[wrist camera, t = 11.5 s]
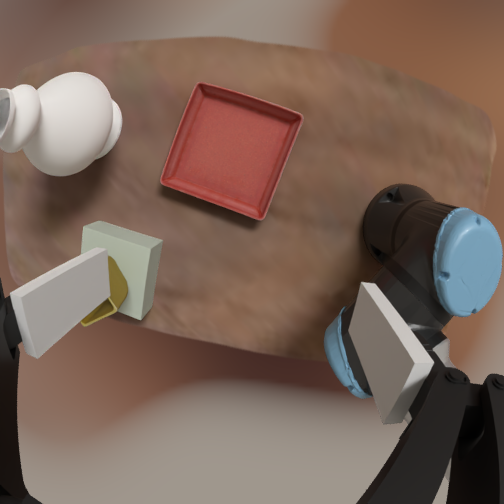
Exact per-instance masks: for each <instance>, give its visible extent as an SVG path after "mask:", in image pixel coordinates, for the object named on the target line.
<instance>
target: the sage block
mask: <svg viewBox="0 0 504 504" xmlns="http://www.w3.org/2000/svg"><path fill="white" fill-rule="evenodd" d="M162 243H163V240H160V239H157V238H154V237H151V236H147V235H144V234H141V233H138V232H135V231H131V230H128V229H125V228H122V227H119V226H115V225H112V224H109V223H106V222H103V221H97V222H94V223H91V224H89V225H86V226H83V236H82V249H81V255H82V254H84V253H86V252H88V251H90V250H92V249H94V248H96V247H98V248H105V249H107V251H108V255H109V256H111V257H112V258H113V259H114V260H115V261H116V263H117V265H118V267H119V269H120V271H121V272H122V274H123V276H124V277H125V279H126V281H127V284H128V294H127V297H126V299H125V300H124V302H123V303H122V305H121V306H120V308H119V309H118V312H121V313H123V314H126V315H128V316H131V317H133V318H136V319H138V320H142V319H143V317H144V316H145V315H146V314H147V312H148V311H149V310H150V309H151V308H152V304H153V297H154V290H155V284H156V277H157V271H158V265H159V260H160V254H161V249H162Z"/></svg>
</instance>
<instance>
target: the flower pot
mask: <svg viewBox="0 0 504 504" xmlns="http://www.w3.org/2000/svg"><path fill="white" fill-rule="evenodd" d="M108 271H109V285H110V297H108V298H107V299H106V300H105V301H103V302H102V303H101V304H100V305H99V306H97V307H96V308H95V309H94V310H93V311H92V312H90V313H89V314H88V315H87V316H86V317H84V318H83V319H82V320H81V321H80V322H81V324H82V325H83V326H84V327H86V326H88V325H90V324H92V323H94V322H96V321H98V320H101V319H103V318H105V317H107V316H109V315H111V314H114V313H115V312H117V311H118V309H119V308H120V306H121V305H122V303H123V302H124V300H125V299H126V297H127V294H128V284H127V281H126V279H125V277H124V276H123V274H122V272H121V271H120V269H119V267H118V265H117V263H116V261H115V260H114V259H113V258H112V257H111V256H109V255H108Z"/></svg>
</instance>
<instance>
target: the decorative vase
mask: <svg viewBox="0 0 504 504" xmlns="http://www.w3.org/2000/svg"><path fill="white" fill-rule="evenodd" d="M121 128H122V115H121V111H120V109H119V107H118V105H117V104H116V102H115V101H113V100H112V99H111V97H110V94H109V92H108V90H107V88H106V87H105V85H104V84H103V83H102V82H101V81H100V80H99V79H97V78H96V77H94V76H92V75H90V74H87V73H82V72H71V73H66V74H62V75H60V76H57V77H55V78H53V79H51V80H50V81H48V82H46V83H45V84H44V85H42V86H41V87H40V88H39V89H38V90H37V91H36V89H35V88H33V87H32V86H30V85H19V86H17V87H15V88H13V89H12V90H10V89H5V88H1V89H0V148H1V149H2V150H3V151H5V152H9V153H13V152H17V151H19V150H21V149H23V151H24V153H25V155H26V156H27V158H28V159H29V160H30V162H31V163H32V164H33V165H34V166H35V167H36V168H37V169H39V170H40V171H42V172H44V173H46V174H48V175H52V176H68V175H72V174H75V173H78V172H80V171H81V170H83V169H85V168H86V167H87V166H89V165H90V164H91V163H92V162H93V161H94V160H95V159H98V158H101V157H103V156H104V155H106V154H107V153H108V152H109V151H110V150H111V149H112V148H113V147H114V145H115V144H116V142H117V140H118V138H119V135H120V132H121Z"/></svg>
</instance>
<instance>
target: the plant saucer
mask: <svg viewBox="0 0 504 504" xmlns="http://www.w3.org/2000/svg"><path fill="white" fill-rule="evenodd" d="M303 120H304V118H303V115H302V114H300V113H298V112H296V111H293V110H290V109H288V108H285V107H282V106H280V105H277V104H274V103H271V102H268V101H265V100H262V99H259V98H256V97H253V96H250V95H247V94H244V93H241V92H237V91H234V90H230V89H227V88H223V87H220V86H216V85H212V84H209V83H205V82H198V83H197V84H196V85H195V87H194V89H193V92H192V94H191V96H190V99H189V101H188V104H187V106H186V109H185V111H184V113H183V116H182V119H181V121H180V124H179V127H178V129H177V132H176V134H175V137H174V140H173V143H172V146H171V148H170V151H169V154H168V157H167V160H166V163H165V166H164V169H163V172H162V175H161V178H160V182H161V184H162V185H164V186H167V187H170V188H172V189H175V190H178V191H181V192H183V193H186V194H189V195H192V196H194V197H197V198H199V199H203V200H206V201H208V202H211V203H214V204H216V205H219V206H222V207H225V208H227V209H230V210H233V211H235V212H238V213H241V214H243V215H246V216H248V217H251V218H253V219H256V220H259V221H260V220H263V219H264V218H265V216H266V214H267V211H268V209H269V206H270V204H271V201H272V199H273V196H274V193H275V191H276V188H277V186H278V183H279V181H280V178H281V175H282V173H283V171H284V168H285V166H286V163H287V161H288V158H289V155H290V153H291V150H292V148H293V145H294V143H295V140H296V138H297V135H298V133H299V130H300V128H301V125H302V123H303Z"/></svg>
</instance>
